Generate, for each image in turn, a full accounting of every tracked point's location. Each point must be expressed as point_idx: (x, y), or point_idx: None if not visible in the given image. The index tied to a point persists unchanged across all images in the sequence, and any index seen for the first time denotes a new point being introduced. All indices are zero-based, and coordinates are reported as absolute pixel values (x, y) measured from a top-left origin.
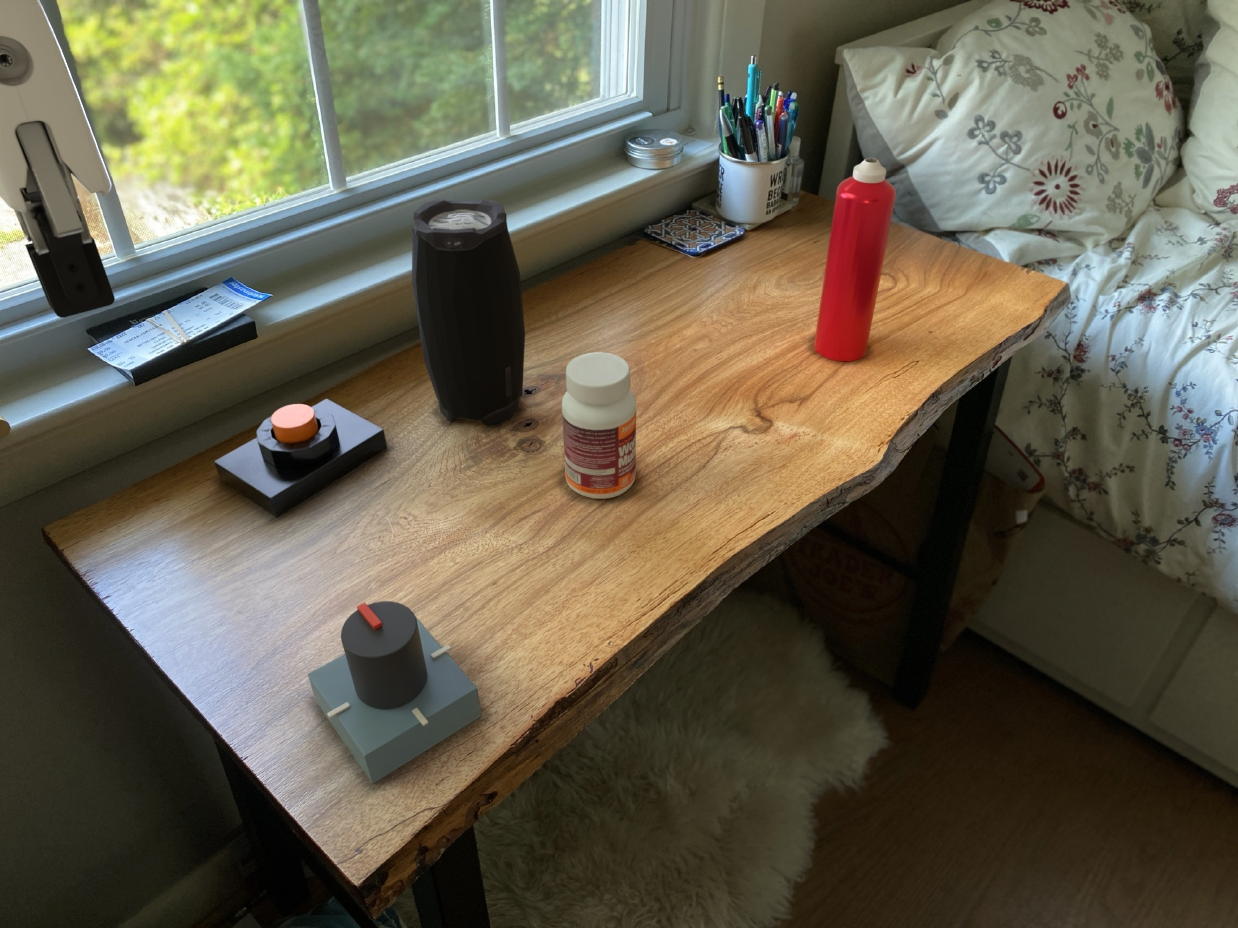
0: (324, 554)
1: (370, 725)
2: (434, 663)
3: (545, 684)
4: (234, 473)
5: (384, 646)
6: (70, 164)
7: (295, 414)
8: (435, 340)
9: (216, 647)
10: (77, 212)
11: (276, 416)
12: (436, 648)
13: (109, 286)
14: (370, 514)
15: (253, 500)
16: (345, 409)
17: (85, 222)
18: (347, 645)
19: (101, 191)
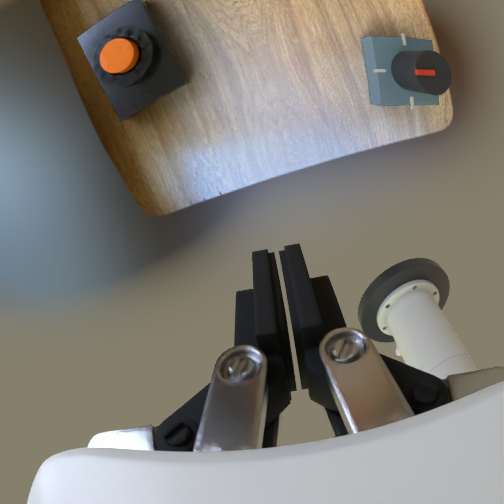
0: (246, 59)
1: (427, 94)
2: (408, 46)
3: (414, 6)
4: (142, 106)
5: (446, 78)
6: None
7: (115, 53)
8: None
9: (299, 140)
10: (433, 399)
11: (111, 68)
12: (399, 40)
13: (302, 258)
14: (218, 22)
15: (164, 96)
16: (97, 23)
17: (384, 368)
18: (436, 93)
19: (475, 393)
